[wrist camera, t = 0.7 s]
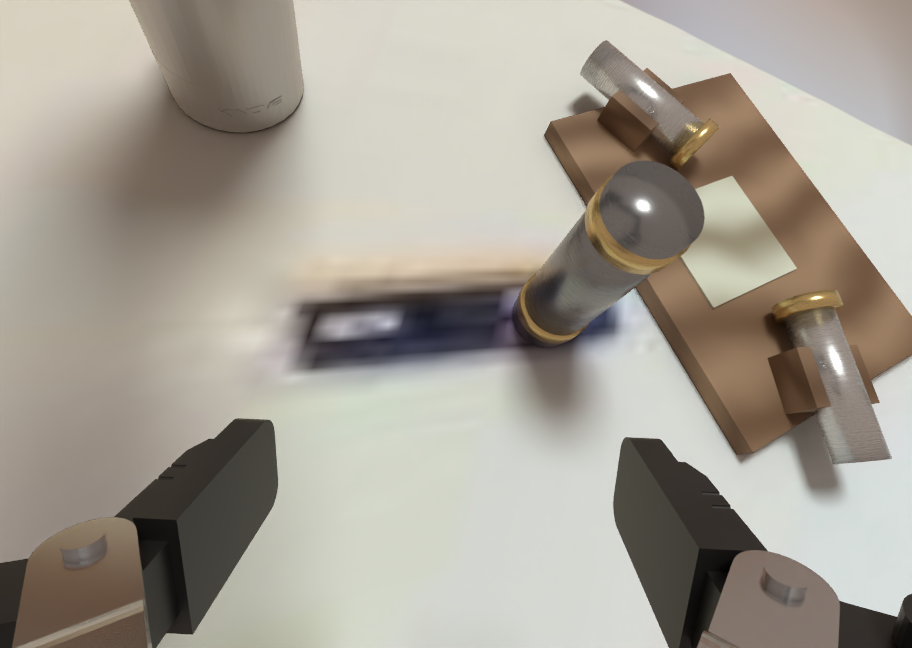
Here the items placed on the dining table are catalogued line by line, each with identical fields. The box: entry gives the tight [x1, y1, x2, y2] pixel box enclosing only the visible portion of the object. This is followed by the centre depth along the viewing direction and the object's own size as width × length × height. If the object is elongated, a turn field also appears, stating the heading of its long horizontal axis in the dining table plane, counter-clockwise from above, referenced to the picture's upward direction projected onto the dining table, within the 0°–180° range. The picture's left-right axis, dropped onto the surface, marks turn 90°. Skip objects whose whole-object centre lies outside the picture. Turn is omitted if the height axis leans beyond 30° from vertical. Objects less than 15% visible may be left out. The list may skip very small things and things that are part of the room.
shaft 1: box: [581, 40, 720, 170], centre depth 38 cm, size 11×4×4 cm, turn 46°
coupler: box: [513, 161, 705, 348], centre depth 27 cm, size 5×5×14 cm
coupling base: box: [544, 68, 912, 454], centre depth 38 cm, size 30×20×4 cm
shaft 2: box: [771, 290, 892, 464], centre depth 32 cm, size 11×4×4 cm, turn 6°
